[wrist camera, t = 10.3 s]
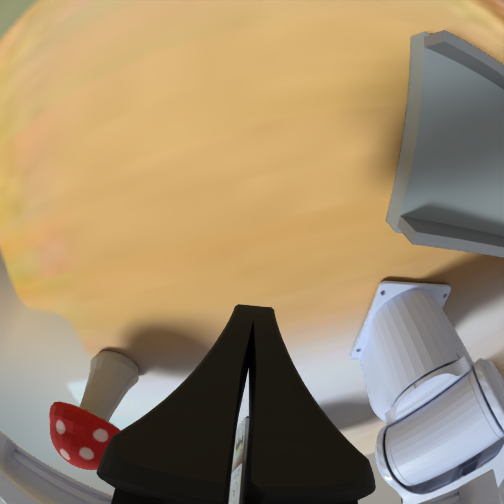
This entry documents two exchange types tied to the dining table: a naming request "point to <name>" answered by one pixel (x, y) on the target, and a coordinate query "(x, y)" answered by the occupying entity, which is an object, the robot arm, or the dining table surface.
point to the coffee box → (239, 463)
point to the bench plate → (451, 149)
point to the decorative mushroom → (92, 411)
